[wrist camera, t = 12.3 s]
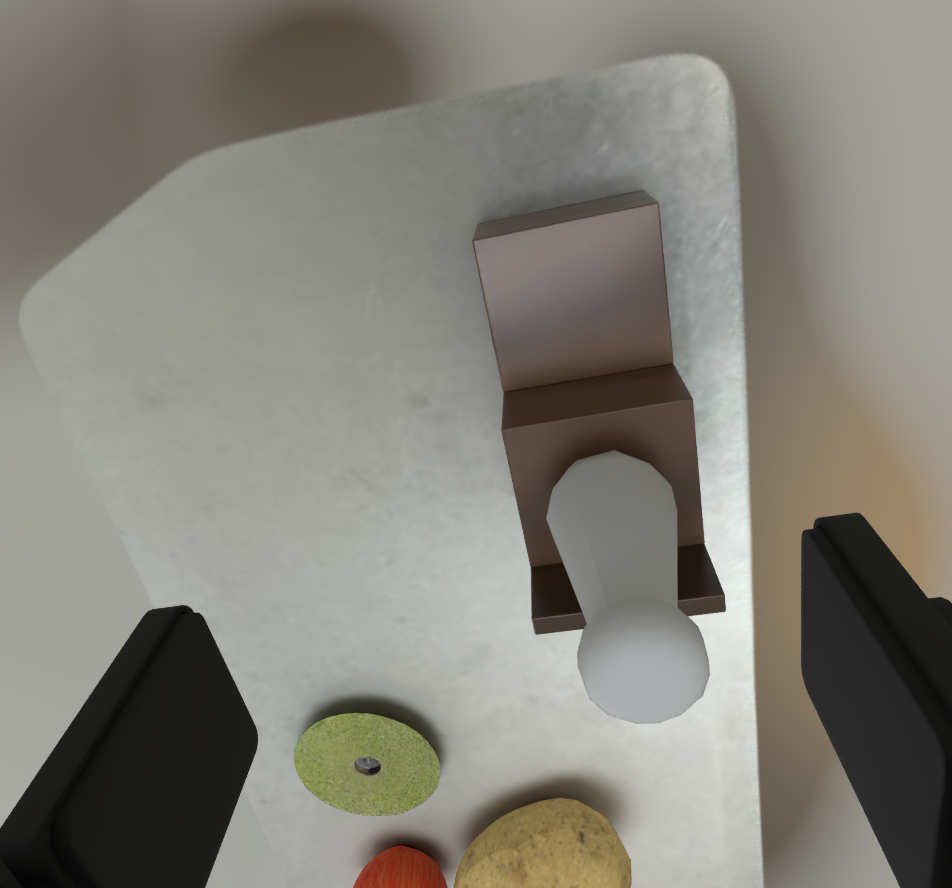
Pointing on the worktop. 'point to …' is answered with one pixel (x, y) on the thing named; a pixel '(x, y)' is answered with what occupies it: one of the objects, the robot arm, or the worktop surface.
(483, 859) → the potato
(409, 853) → the apple
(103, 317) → the worktop surface
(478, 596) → the worktop surface
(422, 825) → the worktop surface
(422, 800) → the mat
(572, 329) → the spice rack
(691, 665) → the salt shaker
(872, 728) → the robot arm
